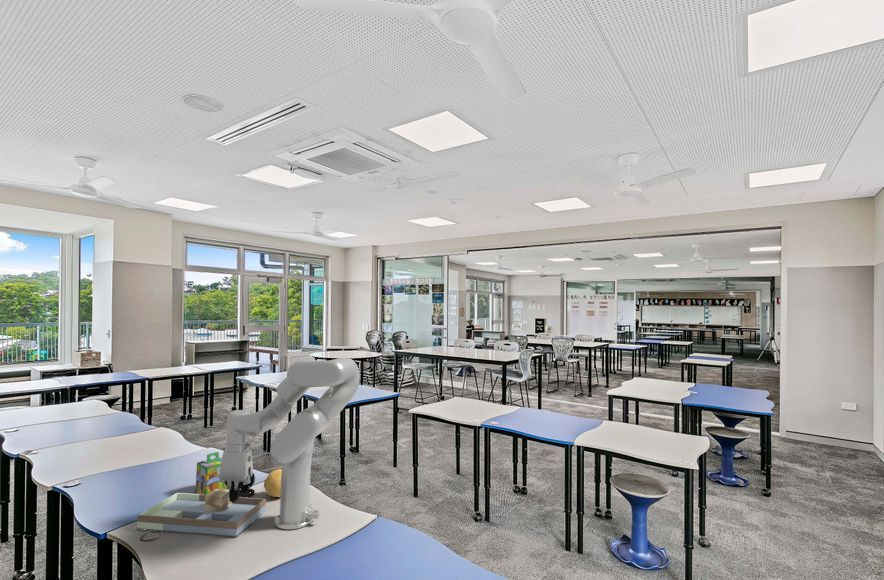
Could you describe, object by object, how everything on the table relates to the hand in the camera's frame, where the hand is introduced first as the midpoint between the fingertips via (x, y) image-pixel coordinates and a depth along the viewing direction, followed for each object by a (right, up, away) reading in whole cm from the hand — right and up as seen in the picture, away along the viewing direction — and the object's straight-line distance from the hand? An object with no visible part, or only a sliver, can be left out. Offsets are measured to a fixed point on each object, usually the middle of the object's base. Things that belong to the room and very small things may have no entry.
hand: (233, 500), depth 150 cm
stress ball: (+9, -7, +16) cm, 20 cm away
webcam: (-4, -6, +17) cm, 18 cm away
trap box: (-8, -5, -4) cm, 10 cm away
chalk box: (-18, -6, +19) cm, 27 cm away
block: (-6, -3, 0) cm, 6 cm away
